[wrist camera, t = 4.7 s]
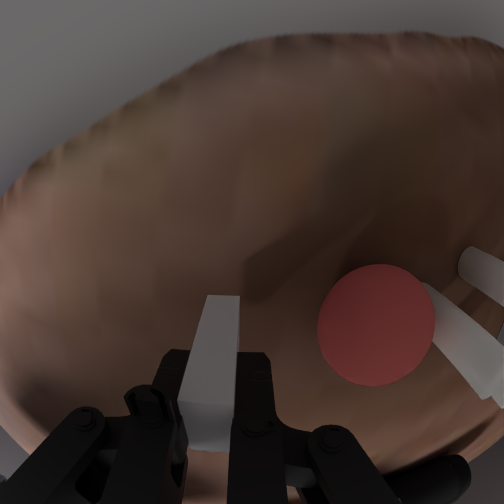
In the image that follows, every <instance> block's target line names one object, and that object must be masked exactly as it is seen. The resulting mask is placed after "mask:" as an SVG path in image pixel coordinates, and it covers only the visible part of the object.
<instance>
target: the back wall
mask: <svg viewBox="0 0 504 504" xmlns="http://www.w3.org/2000/svg"><path fill="white" fill-rule="evenodd" d="M497 341H498V342H499V343H501V344H502V345H503V346H504V323H503V325H502V328H501V330H500V333H499V335H498V337H497Z"/></svg>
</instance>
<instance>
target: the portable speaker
mask: <svg viewBox="0 0 504 504" xmlns="http://www.w3.org/2000/svg"><path fill="white" fill-rule="evenodd" d="M470 483H471V471H470V468H469V465H468V463H467V461H466V460H465V459H464V458H463V457H462V456H460V455H457V454H454V455H449V456H444V457H440V458H437V459H435V460H433V461H431V462H429V463H427V464H425V465H423V466H421V467H419V468H417V469H415V470H413V471H411V472H408V473H406V474H404V475H402V476H399V477H397V478H394V479H392V480H389V481H387V484H388V485H389V487H390V488H391V489H392V491H393V492H394V494H395V495H396V496H397V498H398V499H399V501H400V502H401V503H402V504H452V503H454V502H456V501H457V500H458V498H460V497H461V496H462V495H463V494H464V493H465V491H466V490H467V489H468V488H469V486H470Z"/></svg>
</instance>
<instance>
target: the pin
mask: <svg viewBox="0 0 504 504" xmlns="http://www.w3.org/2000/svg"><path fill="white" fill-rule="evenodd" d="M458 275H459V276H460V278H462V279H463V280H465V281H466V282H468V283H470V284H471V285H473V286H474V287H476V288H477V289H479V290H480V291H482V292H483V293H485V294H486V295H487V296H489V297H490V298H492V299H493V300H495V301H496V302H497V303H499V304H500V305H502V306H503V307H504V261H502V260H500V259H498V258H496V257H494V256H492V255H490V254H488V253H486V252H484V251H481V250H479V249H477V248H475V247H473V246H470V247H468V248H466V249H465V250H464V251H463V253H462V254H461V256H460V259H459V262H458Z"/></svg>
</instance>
